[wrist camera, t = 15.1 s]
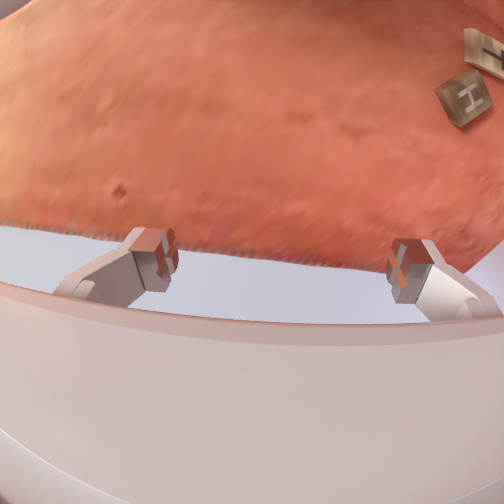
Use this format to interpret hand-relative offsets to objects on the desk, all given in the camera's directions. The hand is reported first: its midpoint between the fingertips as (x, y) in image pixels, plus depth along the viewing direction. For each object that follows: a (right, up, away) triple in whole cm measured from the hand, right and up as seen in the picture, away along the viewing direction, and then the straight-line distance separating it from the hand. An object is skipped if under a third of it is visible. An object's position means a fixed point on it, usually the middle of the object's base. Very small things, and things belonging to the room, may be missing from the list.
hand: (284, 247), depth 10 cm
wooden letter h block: (+27, +20, +19) cm, 39 cm away
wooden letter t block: (+30, +30, +12) cm, 44 cm away
